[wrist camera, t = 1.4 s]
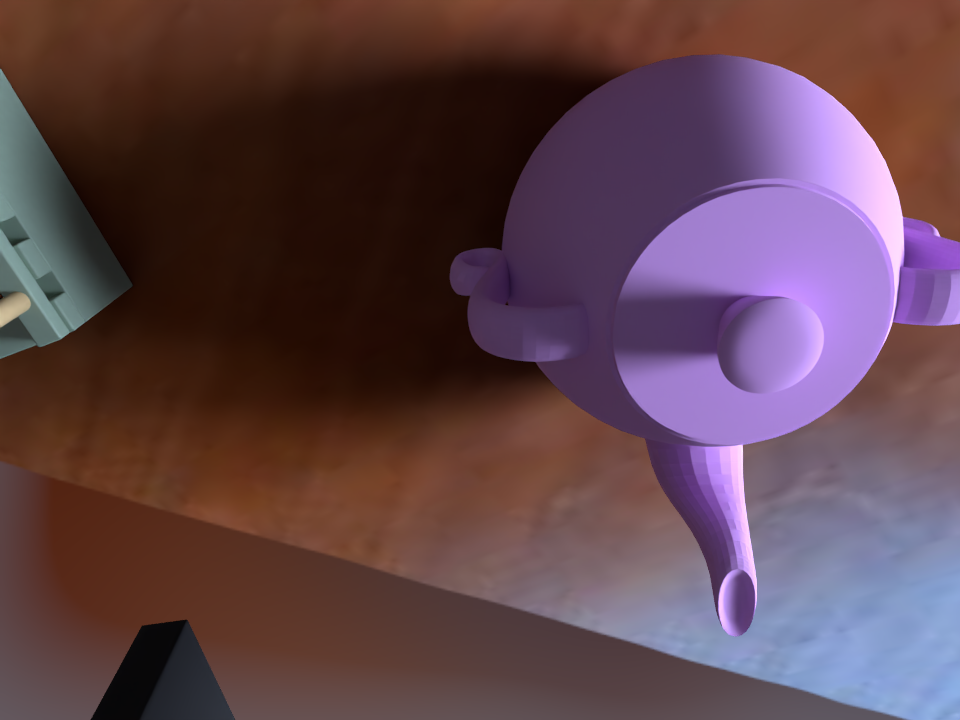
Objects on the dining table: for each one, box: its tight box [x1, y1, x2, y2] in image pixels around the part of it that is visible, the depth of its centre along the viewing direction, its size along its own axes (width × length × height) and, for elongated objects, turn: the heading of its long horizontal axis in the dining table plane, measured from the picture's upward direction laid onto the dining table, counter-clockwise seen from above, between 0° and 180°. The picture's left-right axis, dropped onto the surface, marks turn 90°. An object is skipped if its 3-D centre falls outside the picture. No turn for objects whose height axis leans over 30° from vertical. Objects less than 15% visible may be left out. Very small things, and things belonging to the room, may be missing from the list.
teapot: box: [450, 55, 960, 636], centre depth 31 cm, size 22×22×14 cm
